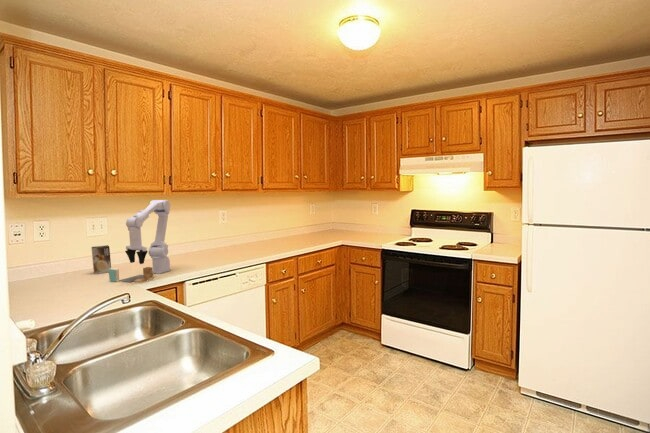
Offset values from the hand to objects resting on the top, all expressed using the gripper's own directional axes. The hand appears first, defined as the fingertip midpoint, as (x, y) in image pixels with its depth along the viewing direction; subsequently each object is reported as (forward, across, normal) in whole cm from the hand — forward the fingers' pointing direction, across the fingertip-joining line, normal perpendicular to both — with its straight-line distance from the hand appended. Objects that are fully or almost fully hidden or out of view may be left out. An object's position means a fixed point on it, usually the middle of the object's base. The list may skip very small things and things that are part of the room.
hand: (137, 263), depth 205 cm
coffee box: (+10, -38, +4) cm, 39 cm away
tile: (+10, -11, -6) cm, 16 cm away
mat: (+10, -5, +2) cm, 11 cm away
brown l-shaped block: (+10, +3, +2) cm, 11 cm away
